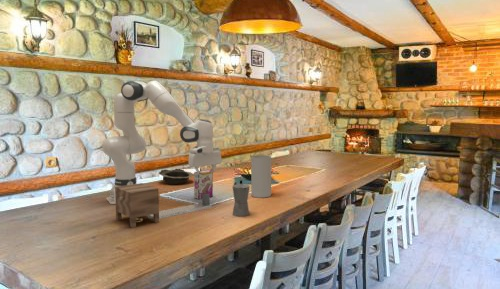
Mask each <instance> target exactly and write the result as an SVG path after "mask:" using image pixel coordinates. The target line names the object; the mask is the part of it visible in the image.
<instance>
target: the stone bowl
mask: <svg viewBox="0 0 500 289" xmlns="http://www.w3.org/2000/svg"><path fill="white" fill-rule="evenodd" d="M158 174H159V175H161V176H162V177H163V178H162V179H163V181H164V183H165V185H183V184H186V182H187V183H188V180H189V179H190V178H192V177H194V172H193V173H192V172H191V171H186V170H184V169H181V168H175V169H170V170H169V169H161V170H160V171H159V172H158Z"/></svg>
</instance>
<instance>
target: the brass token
mask: <svg viewBox="0 0 500 289" xmlns="http://www.w3.org/2000/svg"><path fill="white" fill-rule="evenodd" d="M143 220H144V219H143V218H140V217H137V218H136V223H142V222H143Z"/></svg>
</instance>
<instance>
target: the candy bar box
mask: <svg viewBox="0 0 500 289" xmlns="http://www.w3.org/2000/svg"><path fill="white" fill-rule="evenodd" d="M200 171H201V170H200ZM200 173H201V174H197V171H194V172H193V175H194V176H193V178H194V179H193V180H194V181H193V184H194V185H193V187H194V189H193V192H194V193H193V197H194V199H196V200H202V194H206V193H207V194H210V198H212V197H213V196H214V195H213V191H214V190H213V188H214V186H213V183H214V182H213V181H214V180H213V179H214V178H213V176H214V172H211V170H210V169H209V170H202V171H201V172H200Z"/></svg>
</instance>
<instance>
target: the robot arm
mask: <svg viewBox="0 0 500 289" xmlns="http://www.w3.org/2000/svg"><path fill="white" fill-rule="evenodd" d="M114 99H115V100H114V107H113V112H114V114H113V115H114V117H113V118H114V120H113V121H114V126H115V128H117V130H118V129H119V130H120V131H122V134H123V135H118V136H116V135H115V136H111V137H107V138H105V139H103V142H102V143H101V148H102V151H103V153H104V154H105V155H107V156H108V157H109V158H110V159H111V161H112V162H113V165H114V170H115V179H114V185H113V186H112V187H111V189H110V190H109V191H108V195H109V196H107V197H106V201H108V202H109V204H110V205H116V201H115V187H118V186H125V185H132V184H137V177H136V165H135V163H134V162H133V161H131V160H129V159H128V158H127V155H133V154H136V155H137V154H139V153H142V152H144V151H145V149H146V148H147V142H146V140H145V138H144V137H143V136H142V135H140V133H139V132H138V130H137V127H136V123H135V121H136V119H135V104H136V103H139V102H142V101H146V100H149V101H150V103H152V104H153V106H154V107H155V108H156V109H157V110H158V111H159V112H160V113H161V114H165V115H168V116H170V117H172V118H175V120H177V121H178V122H179V124H180V125H181V126H182V128H181V129H180V131H179V137H180V140H182V142H184V143H187V144H188V143H196V142H197V144H196V146H193V147H191V148H189V150H188V151H189V154H188V166H189V167H190V168H191V167H192V168H194V169H195V172H197V174H201V173H200V172H201V170H200V167H202V166H203V167H205V166H212V167H211V168H210V171H211V172H213V173H215V170H216V167H217V165H220V164H221V163H222V155H221V148H219V147H214V141H213V138H214V126H213V123H212V121H210V120H208V119H203V118H202V119H201V118H200V119H198V120H197V121H194V120H193V119H192V118H191V117H190V116H189V115H188V114H187V113H186V112H185V110H183V109H182V107H181V106H180V105H179V104H178V102H177V101H176V99H174V97H173V96H172V95H171V93H170V92H169V91H168V90H167V88H165V87H164V85H162V84H161V83H160V82H159V81H157V80H150V81H148V82H146V81H139V80H134V81H133V80H130V81H126V82H124V83H123V84H122V86H121V89H120V92H119V93H117V95H115V98H114Z"/></svg>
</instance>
